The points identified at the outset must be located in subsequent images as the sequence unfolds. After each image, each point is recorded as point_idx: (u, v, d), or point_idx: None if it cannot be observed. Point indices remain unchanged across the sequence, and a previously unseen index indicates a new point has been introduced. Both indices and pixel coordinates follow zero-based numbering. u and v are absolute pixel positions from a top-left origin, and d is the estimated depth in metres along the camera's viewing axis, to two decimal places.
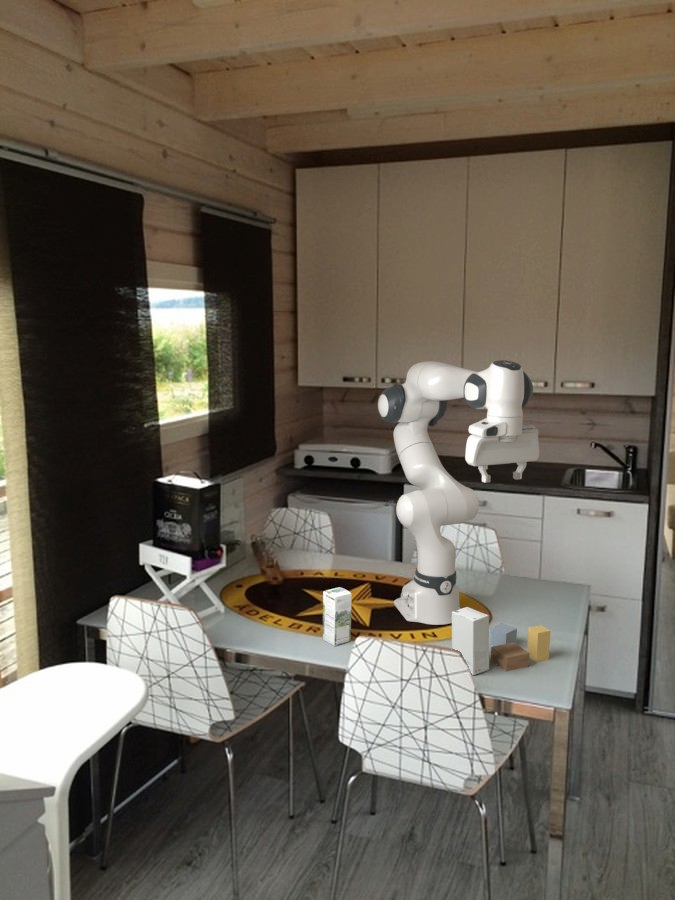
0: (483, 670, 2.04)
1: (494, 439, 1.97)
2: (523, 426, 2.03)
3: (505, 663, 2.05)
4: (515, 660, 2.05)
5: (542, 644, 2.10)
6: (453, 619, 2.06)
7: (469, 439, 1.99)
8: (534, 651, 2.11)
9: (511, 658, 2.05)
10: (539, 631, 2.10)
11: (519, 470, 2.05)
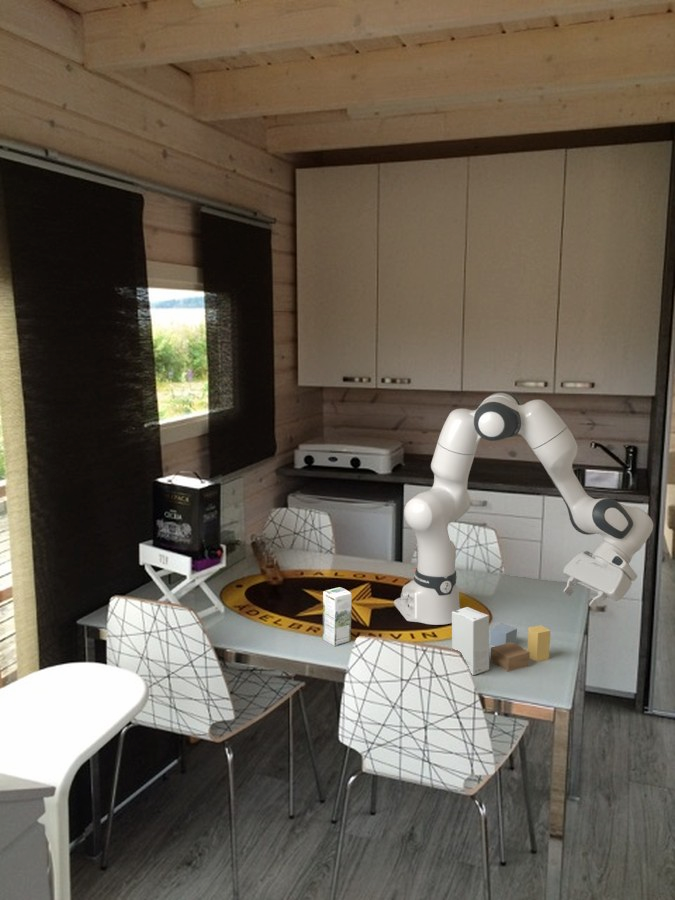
0: (483, 670, 2.04)
1: None
2: None
3: (507, 664, 2.05)
4: (516, 660, 2.06)
5: (542, 644, 2.10)
6: (453, 619, 2.06)
7: (624, 576, 2.08)
8: (534, 651, 2.11)
9: (513, 658, 2.05)
10: (539, 631, 2.10)
11: (571, 587, 2.20)
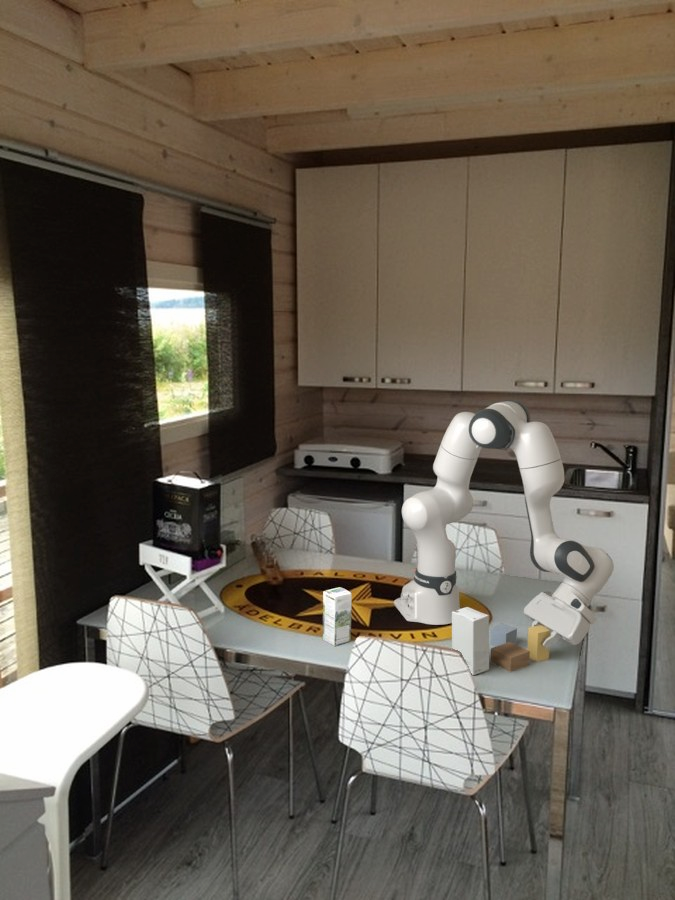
0: (483, 670, 2.04)
1: None
2: None
3: (509, 664, 2.05)
4: (518, 660, 2.06)
5: None
6: (453, 619, 2.06)
7: (583, 620, 2.05)
8: (534, 651, 2.11)
9: (514, 658, 2.05)
10: (539, 631, 2.10)
11: None
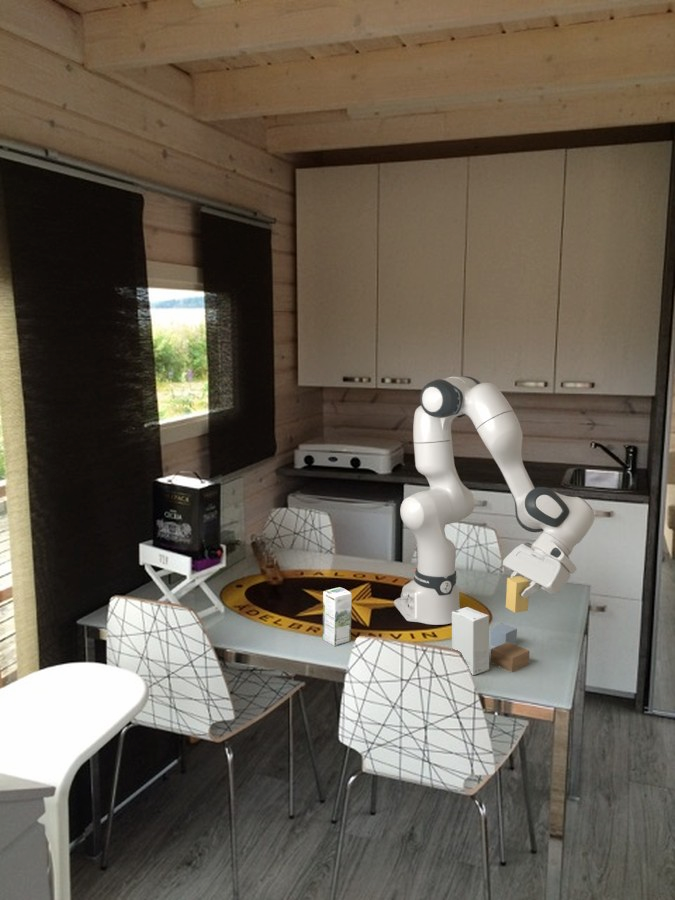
0: (483, 670, 2.04)
1: None
2: None
3: (510, 664, 2.05)
4: (519, 660, 2.06)
5: None
6: (453, 619, 2.06)
7: (562, 569, 1.99)
8: (512, 602, 2.06)
9: (516, 658, 2.05)
10: (518, 581, 2.04)
11: None
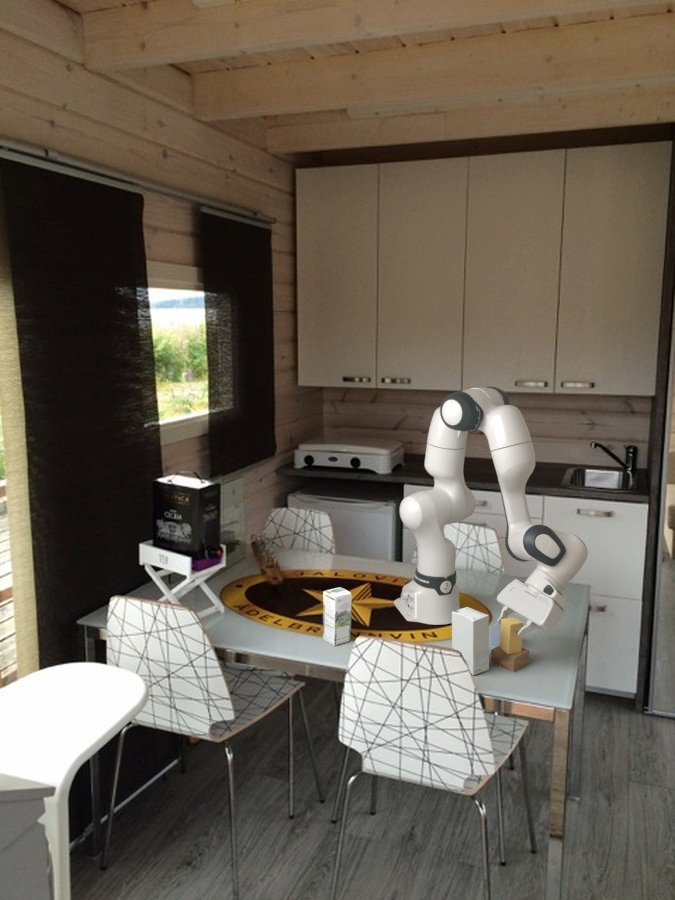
0: (483, 670, 2.04)
1: None
2: None
3: (512, 664, 2.05)
4: (520, 659, 2.06)
5: (515, 636, 2.06)
6: (453, 619, 2.06)
7: (555, 606, 2.00)
8: (506, 643, 2.07)
9: (517, 658, 2.05)
10: (512, 623, 2.06)
11: (505, 617, 2.12)
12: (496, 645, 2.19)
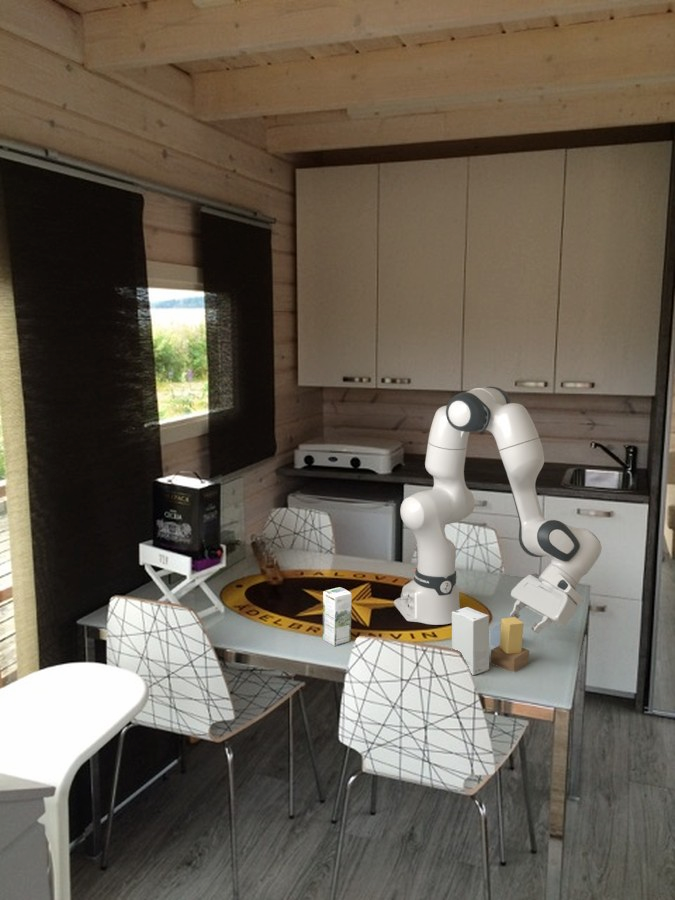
0: (483, 670, 2.04)
1: None
2: None
3: (512, 664, 2.05)
4: (520, 659, 2.06)
5: (514, 636, 2.06)
6: (453, 619, 2.06)
7: (569, 601, 2.02)
8: (505, 643, 2.07)
9: (517, 658, 2.05)
10: (511, 623, 2.06)
11: (517, 611, 2.14)
12: (496, 645, 2.19)
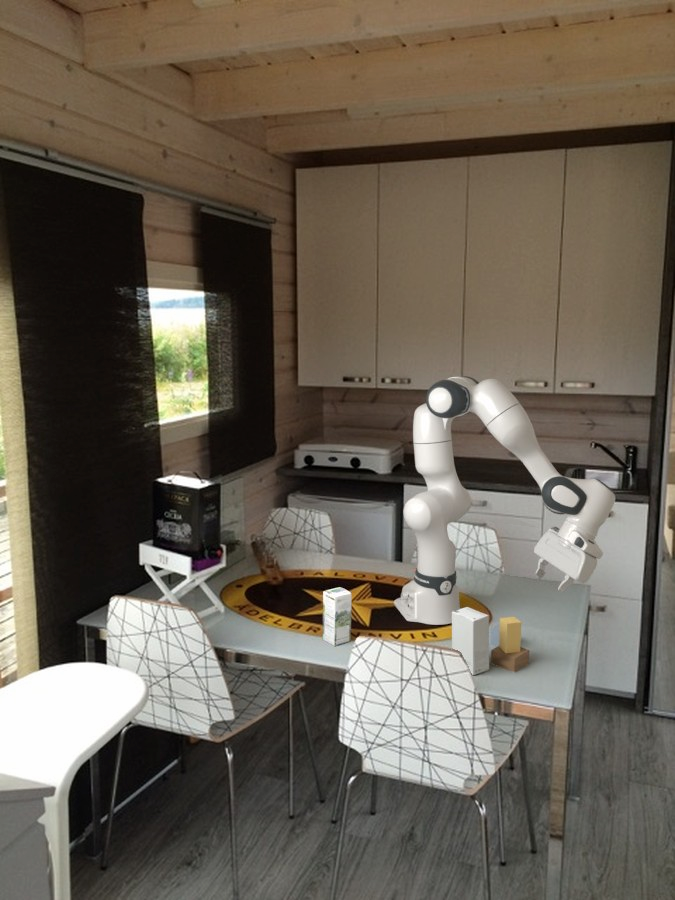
0: (483, 670, 2.04)
1: None
2: None
3: (512, 664, 2.04)
4: (520, 659, 2.06)
5: (512, 636, 2.06)
6: (453, 619, 2.06)
7: (587, 558, 2.03)
8: (504, 642, 2.07)
9: (517, 658, 2.05)
10: (509, 622, 2.06)
11: (542, 568, 2.17)
12: (496, 645, 2.19)
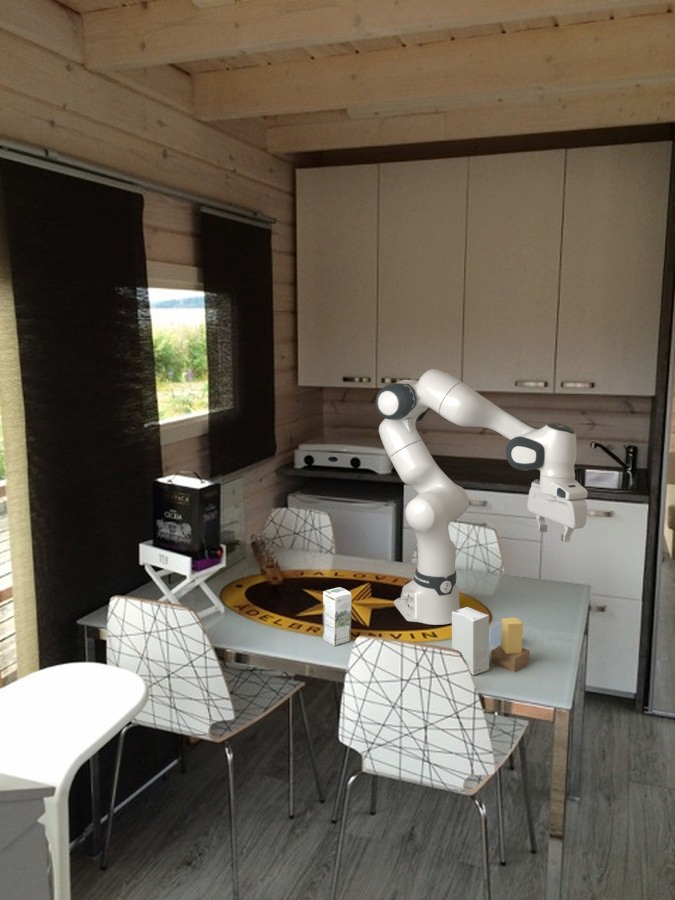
0: (483, 670, 2.04)
1: None
2: None
3: (513, 665, 2.04)
4: (520, 660, 2.06)
5: (513, 636, 2.06)
6: (453, 619, 2.06)
7: (575, 505, 2.04)
8: (505, 643, 2.07)
9: (517, 659, 2.05)
10: (510, 622, 2.06)
11: (543, 523, 2.19)
12: (496, 645, 2.19)
